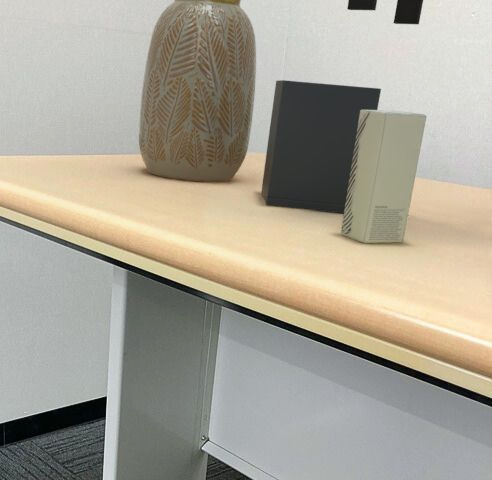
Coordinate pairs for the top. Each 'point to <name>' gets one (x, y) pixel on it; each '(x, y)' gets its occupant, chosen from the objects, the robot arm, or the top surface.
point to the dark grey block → (313, 144)
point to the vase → (198, 91)
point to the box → (382, 175)
